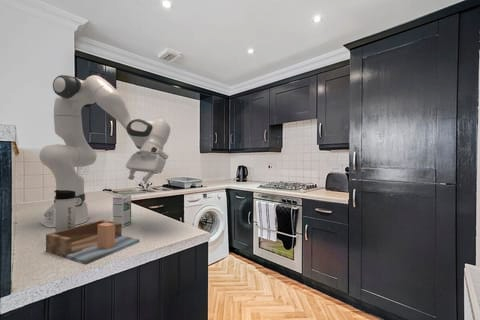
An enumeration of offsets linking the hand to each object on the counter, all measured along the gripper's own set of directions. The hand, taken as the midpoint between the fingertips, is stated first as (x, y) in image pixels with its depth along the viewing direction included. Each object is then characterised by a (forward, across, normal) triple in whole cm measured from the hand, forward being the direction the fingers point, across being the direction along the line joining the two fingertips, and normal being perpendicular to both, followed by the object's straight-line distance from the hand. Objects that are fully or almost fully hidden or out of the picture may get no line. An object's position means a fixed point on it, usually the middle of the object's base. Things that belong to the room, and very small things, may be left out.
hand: (137, 180), depth 94 cm
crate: (+28, -1, -3) cm, 28 cm away
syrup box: (+19, -17, +15) cm, 30 cm away
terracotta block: (+27, +5, -4) cm, 27 cm away
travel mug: (+30, -18, -5) cm, 35 cm away
